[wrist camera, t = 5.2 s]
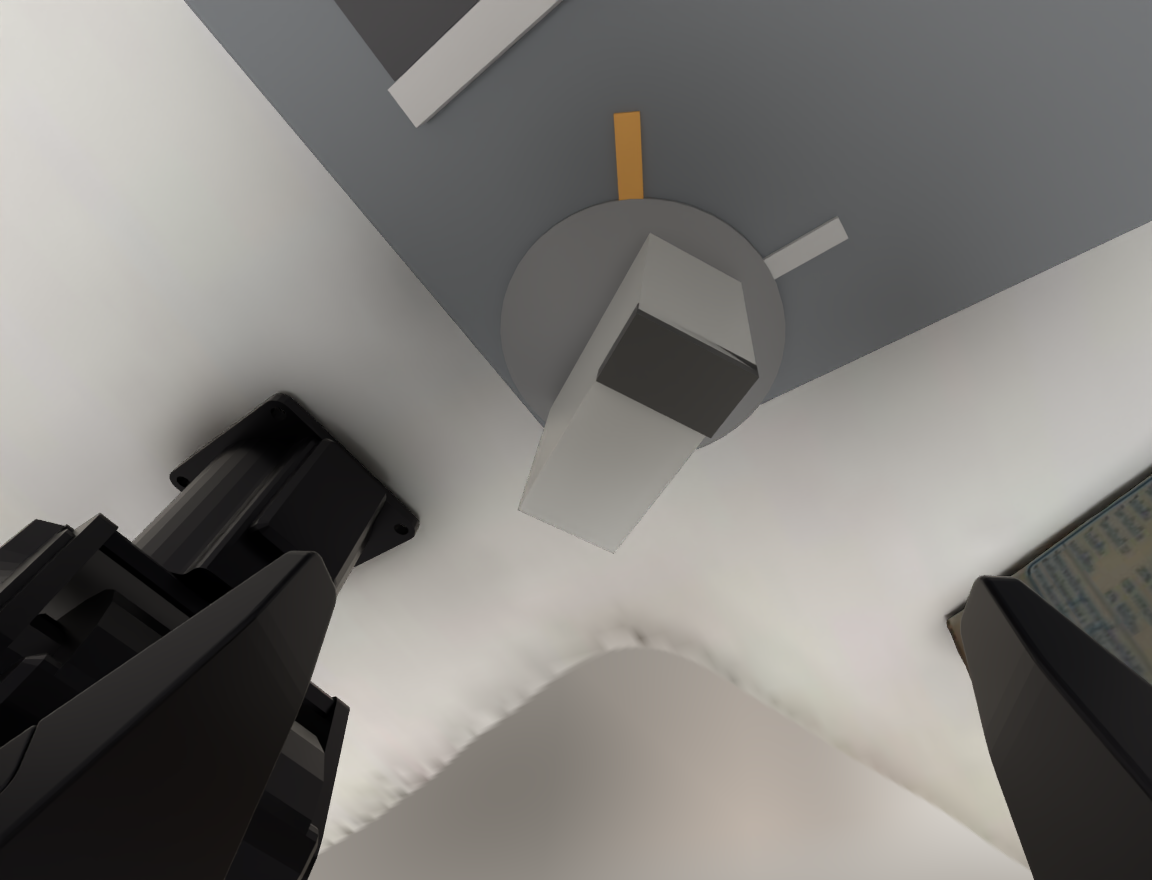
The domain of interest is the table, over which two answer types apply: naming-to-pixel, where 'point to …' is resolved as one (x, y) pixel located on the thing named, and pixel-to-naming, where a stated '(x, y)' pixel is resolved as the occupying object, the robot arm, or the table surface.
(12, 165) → the table surface
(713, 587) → the table surface
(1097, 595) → the weathered grey box
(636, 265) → the grey rectangular block
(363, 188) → the console board
